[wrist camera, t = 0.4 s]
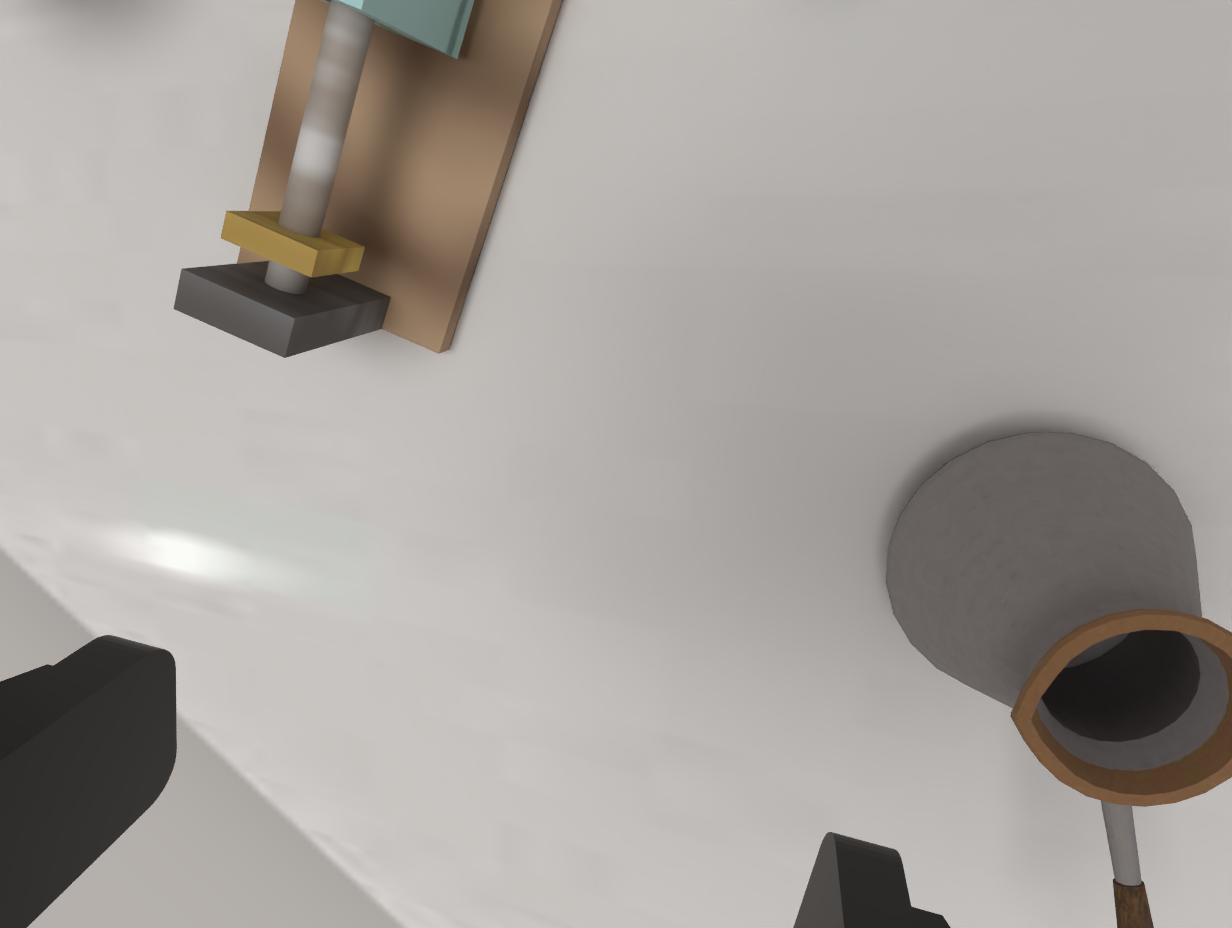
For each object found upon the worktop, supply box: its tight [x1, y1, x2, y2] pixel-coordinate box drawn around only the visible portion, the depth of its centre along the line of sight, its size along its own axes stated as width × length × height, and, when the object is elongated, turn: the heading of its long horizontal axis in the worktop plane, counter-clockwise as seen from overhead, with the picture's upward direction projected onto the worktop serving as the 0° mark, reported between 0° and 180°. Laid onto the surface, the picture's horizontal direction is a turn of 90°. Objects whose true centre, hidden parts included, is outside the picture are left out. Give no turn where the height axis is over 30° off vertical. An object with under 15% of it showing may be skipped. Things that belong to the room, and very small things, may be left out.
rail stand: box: [174, 0, 562, 358], centre depth 29 cm, size 24×10×9 cm, turn 158°
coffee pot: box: [886, 433, 1232, 928], centre depth 30 cm, size 21×12×15 cm, turn 10°
